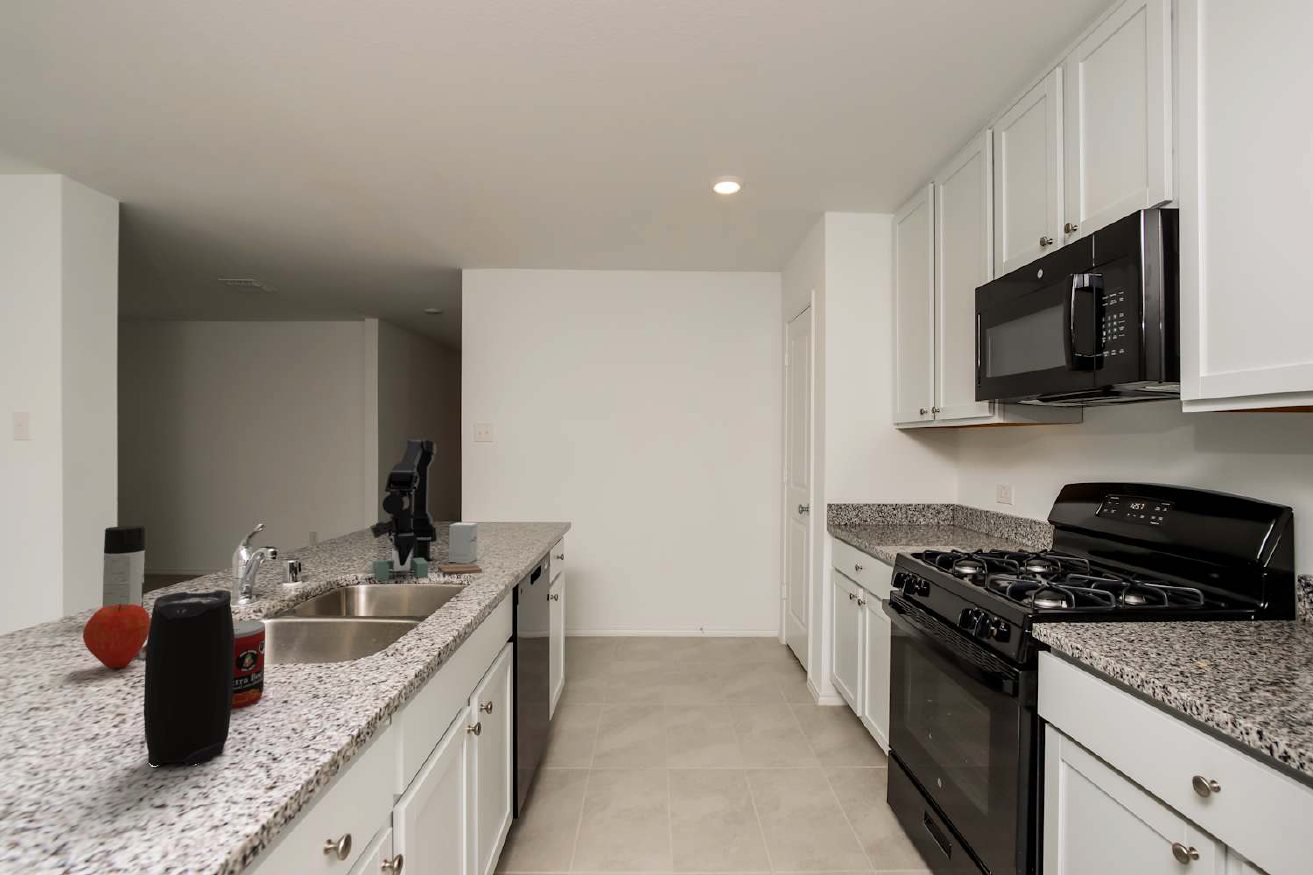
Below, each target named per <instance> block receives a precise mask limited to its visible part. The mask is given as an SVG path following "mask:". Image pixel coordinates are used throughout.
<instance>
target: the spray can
mask: <svg viewBox="0 0 1313 875" xmlns="http://www.w3.org/2000/svg"><path fill="white" fill-rule="evenodd" d="M103 544H104V545H103V571H102V572H103V573H102V576H103V579H102V608H104V607H110V606H118V605H120V604H121V605H126V604H128V605H138V606H141V607H143V608H144V604H145V603H144V602H145V601H144V597H145V596H144V595H145V594H144V592H145V590H144V588H145V562H146V561H145V559H146V557H145V555H146V551H145V550H146V526H144V525H124V526H123V525H121V526H110V527H107V528H105V530H104V543H103Z"/></svg>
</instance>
